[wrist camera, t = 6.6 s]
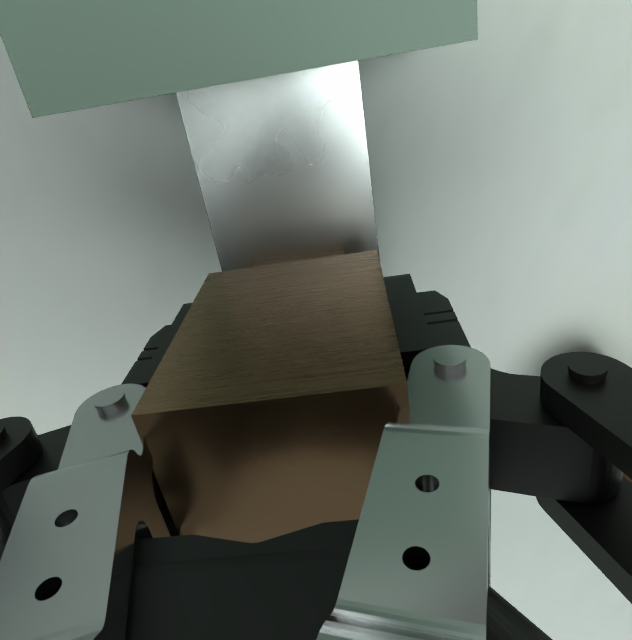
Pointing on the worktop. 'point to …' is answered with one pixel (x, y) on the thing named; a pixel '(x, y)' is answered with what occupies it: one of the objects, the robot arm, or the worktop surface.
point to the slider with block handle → (278, 317)
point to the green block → (204, 42)
